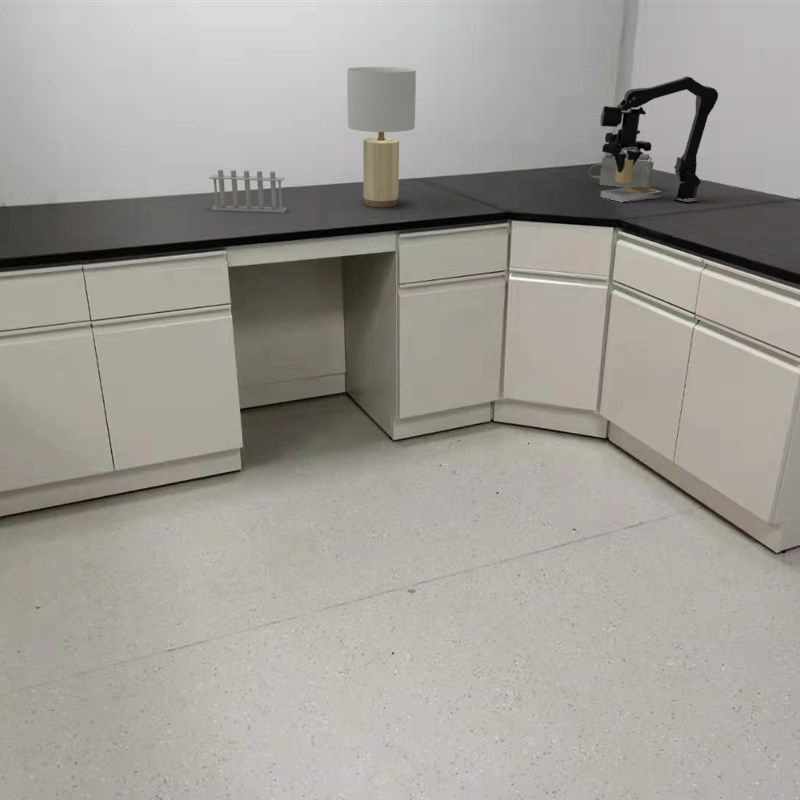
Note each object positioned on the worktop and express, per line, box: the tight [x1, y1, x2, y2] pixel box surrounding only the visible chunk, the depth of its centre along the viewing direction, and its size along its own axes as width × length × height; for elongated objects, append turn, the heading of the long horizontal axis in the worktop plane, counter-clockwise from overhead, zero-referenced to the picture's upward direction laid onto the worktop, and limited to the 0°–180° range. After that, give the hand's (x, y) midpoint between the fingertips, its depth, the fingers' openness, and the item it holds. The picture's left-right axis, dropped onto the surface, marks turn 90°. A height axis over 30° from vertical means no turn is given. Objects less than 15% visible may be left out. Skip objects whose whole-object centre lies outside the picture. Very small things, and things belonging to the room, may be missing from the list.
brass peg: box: [615, 158, 633, 183], centre depth 302 cm, size 4×4×8 cm
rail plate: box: [600, 186, 663, 202], centre depth 309 cm, size 20×11×3 cm, turn 119°
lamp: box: [346, 66, 417, 209], centre depth 284 cm, size 23×23×44 cm
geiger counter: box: [587, 151, 655, 189], centre depth 324 cm, size 14×6×25 cm
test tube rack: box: [208, 169, 287, 214], centre depth 280 cm, size 25×4×13 cm, turn 85°
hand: (623, 171), depth 303 cm, fingers closed on brass peg, 4 cm apart
